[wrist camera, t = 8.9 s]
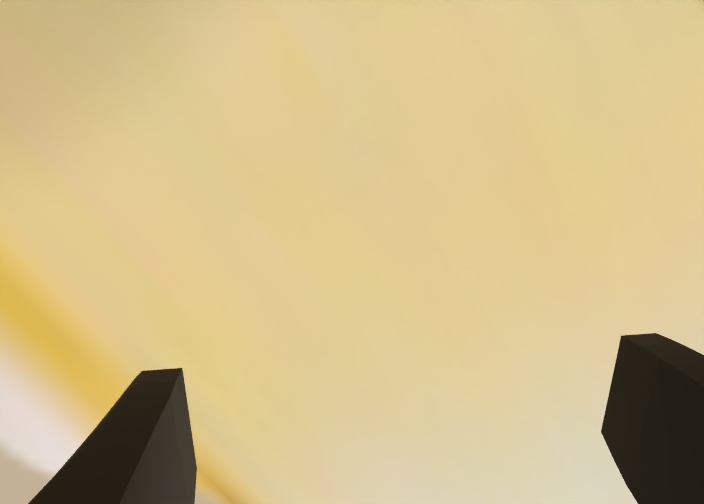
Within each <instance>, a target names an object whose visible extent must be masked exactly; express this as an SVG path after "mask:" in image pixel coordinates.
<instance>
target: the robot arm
mask: <svg viewBox="0 0 704 504" xmlns="http://www.w3.org/2000/svg"><path fill="white" fill-rule="evenodd" d="M601 432H602V435H603V437H604V439H605V441H606V443H607V446H608V448H609V450H610V452H611V454H612V457H613V459H614V461H615V463H616V465H617V467H618V469H619V471H620V473H621V475H622V477H623V479H624V481H625V483H626V485H627V487H628V488H629V490H630V491H631V493H632V495H633V496H634V498H635V499H636V501H637V502H638V504H704V355H702V354H700V353H698V352H696V351H694V350H692V349H690V348H688V347H686V346H684V345H682V344H680V343H678V342H675V341H673V340H671V339H669V338H666V337H664V336H661V335H659V334H656V333H652V334H639V335H625V336H621V340H620V345H619V349H618V354H617V359H616V364H615V368H614V373H613V378H612V383H611V387H610V392H609V397H608V402H607V406H606V411H605V416H604V420H603V425H602V430H601ZM196 471H197V467H196V460H195V453H194V446H193V439H192V432H191V425H190V418H189V411H188V405H187V398H186V391H185V384H184V377H183V370H182V368H177V369H163V370H149V371H142V372H141V373H140V374H139V375H138V376H137V377H136V378H135V379H134V380H133V382H132V383H131V384H130V385H129V387H128V388H127V389H126V390H125V392H124V393H123V394H122V396H121V397H120V398H119V399H118V401H117V402H116V403H115V404H114V406H113V407H112V408H111V409H110V411H109V412H108V413H107V414H106V416H105V417H104V418H103V419H102V421H101V422H100V423H99V424H98V426H97V427H96V428H95V429H94V430H93V432H92V433H91V434H90V435H89V436H88V438H87V439H86V440H85V441H84V442H83V443H82V445H81V446H80V447H79V448H78V449H77V450H76V452H75V453H74V454H73V455H72V456H71V457H70V459H69V460H68V461H67V462H66V463H65V464H64V466H63V467H62V468H61V469H60V470H59V471H58V472H57V473H56V475H55V476H54V477H53V478H52V479H51V480H50V481H49V482H48V483H47V484H46V486H44V487H43V489H42V490H41V491H40V492H39V493H38V494H37V495H36V496H35V497H34V498H33V499H32V500H31V501H30V502H29V503H28V504H194V501H195V486H196Z"/></svg>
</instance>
